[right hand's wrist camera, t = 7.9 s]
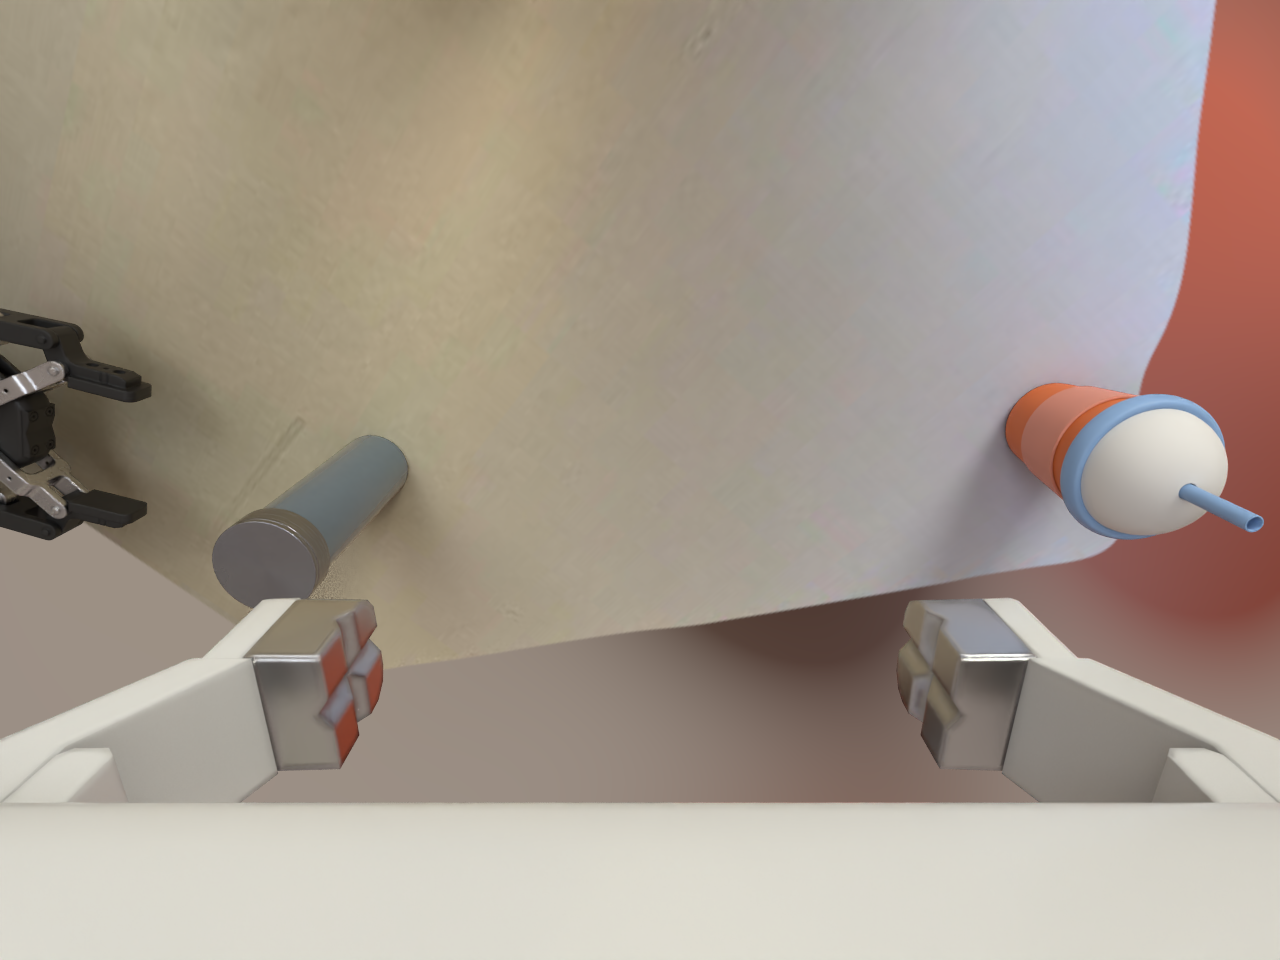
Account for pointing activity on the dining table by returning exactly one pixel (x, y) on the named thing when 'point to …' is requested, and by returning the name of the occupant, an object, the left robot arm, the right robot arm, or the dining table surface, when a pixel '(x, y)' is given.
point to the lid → (270, 557)
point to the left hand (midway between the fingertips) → (141, 455)
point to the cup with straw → (1125, 458)
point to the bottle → (347, 490)
